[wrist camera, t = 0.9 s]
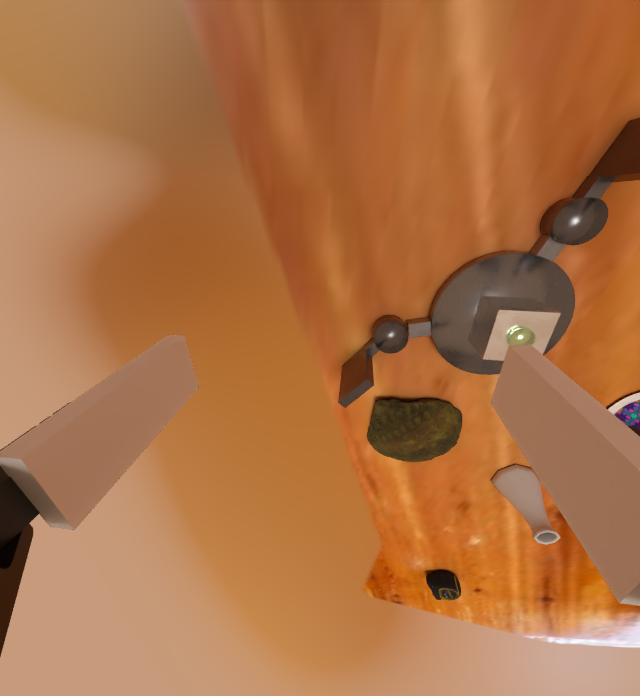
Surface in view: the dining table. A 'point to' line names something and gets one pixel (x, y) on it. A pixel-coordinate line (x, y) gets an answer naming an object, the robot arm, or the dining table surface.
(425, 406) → the pottery fragment
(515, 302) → the tribrach
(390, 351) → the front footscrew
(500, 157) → the dining table surface
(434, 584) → the tape measure
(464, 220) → the dining table surface
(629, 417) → the pudding
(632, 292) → the dining table surface
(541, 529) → the flask
